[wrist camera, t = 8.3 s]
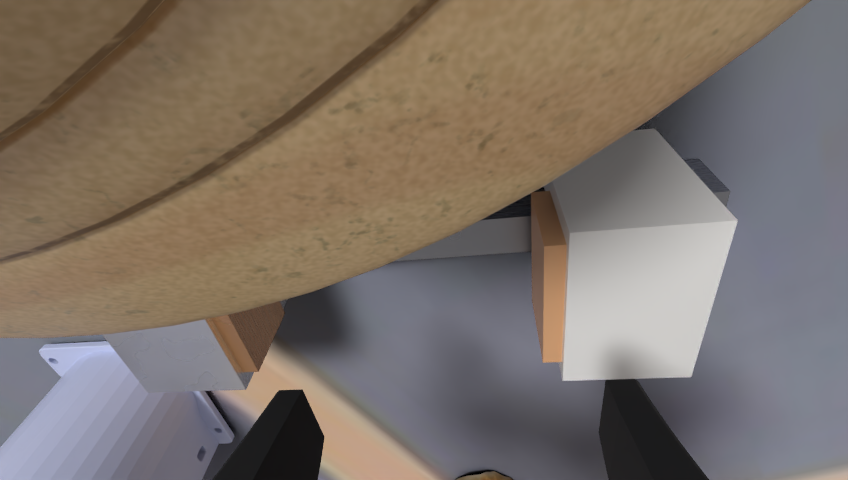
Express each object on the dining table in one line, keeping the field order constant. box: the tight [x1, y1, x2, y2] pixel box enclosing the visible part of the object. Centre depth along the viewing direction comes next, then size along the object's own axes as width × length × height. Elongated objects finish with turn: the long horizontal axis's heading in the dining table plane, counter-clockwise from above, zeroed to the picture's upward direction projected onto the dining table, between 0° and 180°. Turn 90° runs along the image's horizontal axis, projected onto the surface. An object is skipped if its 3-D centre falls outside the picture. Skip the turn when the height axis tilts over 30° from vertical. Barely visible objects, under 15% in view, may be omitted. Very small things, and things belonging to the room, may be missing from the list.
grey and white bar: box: [102, 159, 730, 393], centre depth 17 cm, size 6×22×6 cm, turn 98°
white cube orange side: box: [531, 128, 738, 381], centre depth 16 cm, size 6×5×6 cm
